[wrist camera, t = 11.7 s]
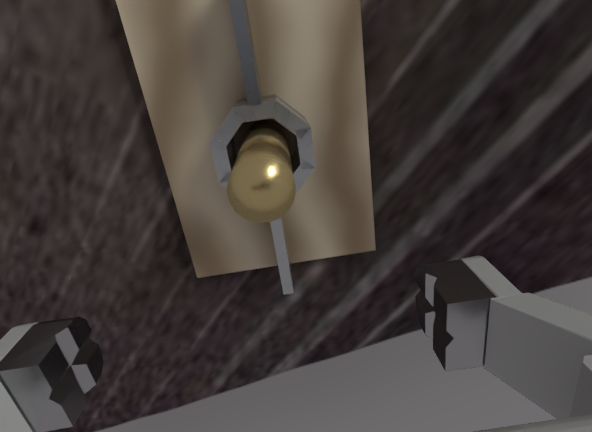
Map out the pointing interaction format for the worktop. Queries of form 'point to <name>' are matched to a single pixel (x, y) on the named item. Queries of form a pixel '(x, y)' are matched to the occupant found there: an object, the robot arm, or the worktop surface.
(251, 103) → the grey metal ringed bar
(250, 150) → the pin
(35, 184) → the worktop surface
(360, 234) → the birch board
